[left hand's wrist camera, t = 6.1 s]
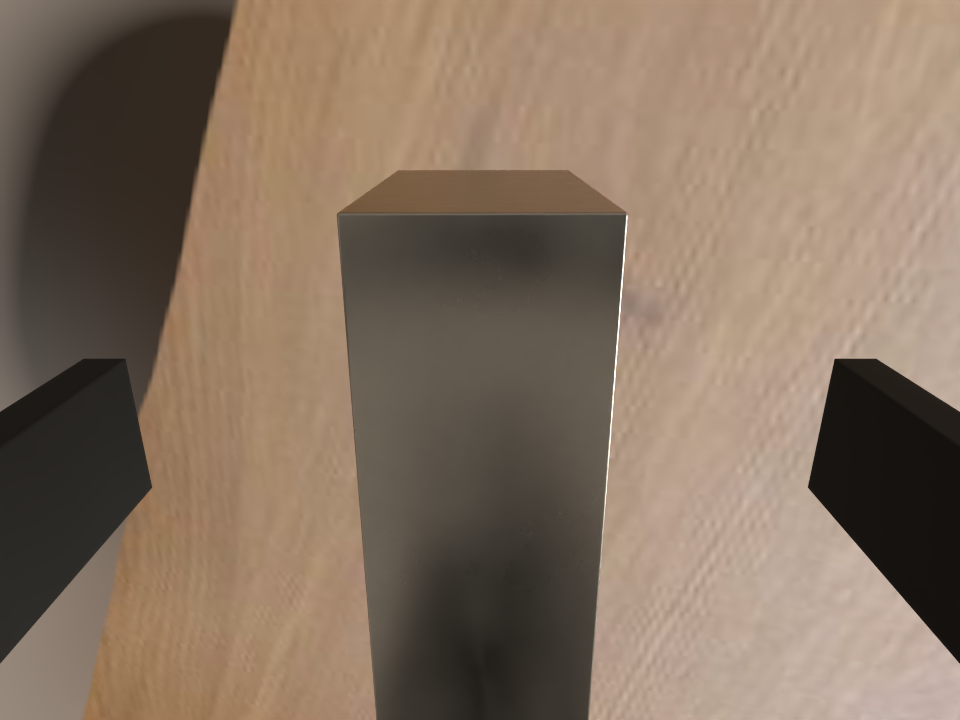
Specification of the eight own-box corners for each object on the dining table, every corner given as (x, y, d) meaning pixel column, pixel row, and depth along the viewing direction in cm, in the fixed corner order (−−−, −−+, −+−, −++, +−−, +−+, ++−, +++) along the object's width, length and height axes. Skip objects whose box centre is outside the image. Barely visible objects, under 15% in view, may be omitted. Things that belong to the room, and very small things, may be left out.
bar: (397, 170, 22) (335, 212, 13) (569, 170, 22) (628, 212, 13) (420, 694, 30) (393, 944, 21) (545, 695, 30) (571, 945, 21)
